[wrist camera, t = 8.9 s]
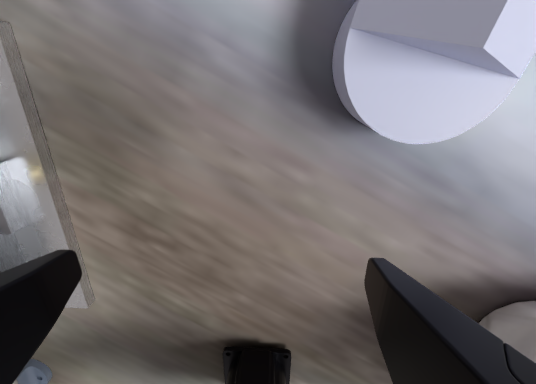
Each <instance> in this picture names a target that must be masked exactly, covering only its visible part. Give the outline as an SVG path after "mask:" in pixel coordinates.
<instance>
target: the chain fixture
mask: <svg viewBox="0 0 536 384" xmlns="http://www.w3.org/2000/svg"><path fill="white" fill-rule="evenodd" d="M60 249H64V250H73V251H75V252H76V254H77V257H78V260H79V263H80V266H81V269H82V277H81V280H80V281H79V283H78V285H77V287H76V288H75V290H74V292H73V293H72V295H71V297H70V299H69V300H68V302H67V304H66V306H65V307H68V308H89V307H90V305H91V304H92V303H93V302H94V301H95V298H94V295H93V292H92V288H91V285H90V282H89V279H88V275H87V272H86V269H85V266H84V262H83V259H82V256H81V253H80V249H79V246H78V243H77V240H76V236H75V233H74V230H73V227H72V223H71V220H70V217H69V214H68V210H67V207H66V204H65V201H64V197H63V194H62V191H61V188H60V184H59V181H58V178H57V175H56V171H55V168H54V165H53V162H52V158H51V155H50V152H49V149H48V145H47V142H46V139H45V136H44V132H43V129H42V126H41V123H40V119H39V116H38V113H37V110H36V106H35V103H34V100H33V97H32V93H31V90H30V87H29V84H28V80H27V77H26V74H25V71H24V67H23V64H22V61H21V58H20V54H19V51H18V48H17V45H16V41H15V38H14V35H13V32H12V28H11V25H10V23H9V22H3V21H0V272H3V271H6V270H8V269H11V268H13V267H16V266H18V265H21V264H23V263H26V262H28V261H31V260H33V259H36V258H39V257H41V256H44V255H46V254H49V253H51V252H54V251H56V250H60Z"/></svg>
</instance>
